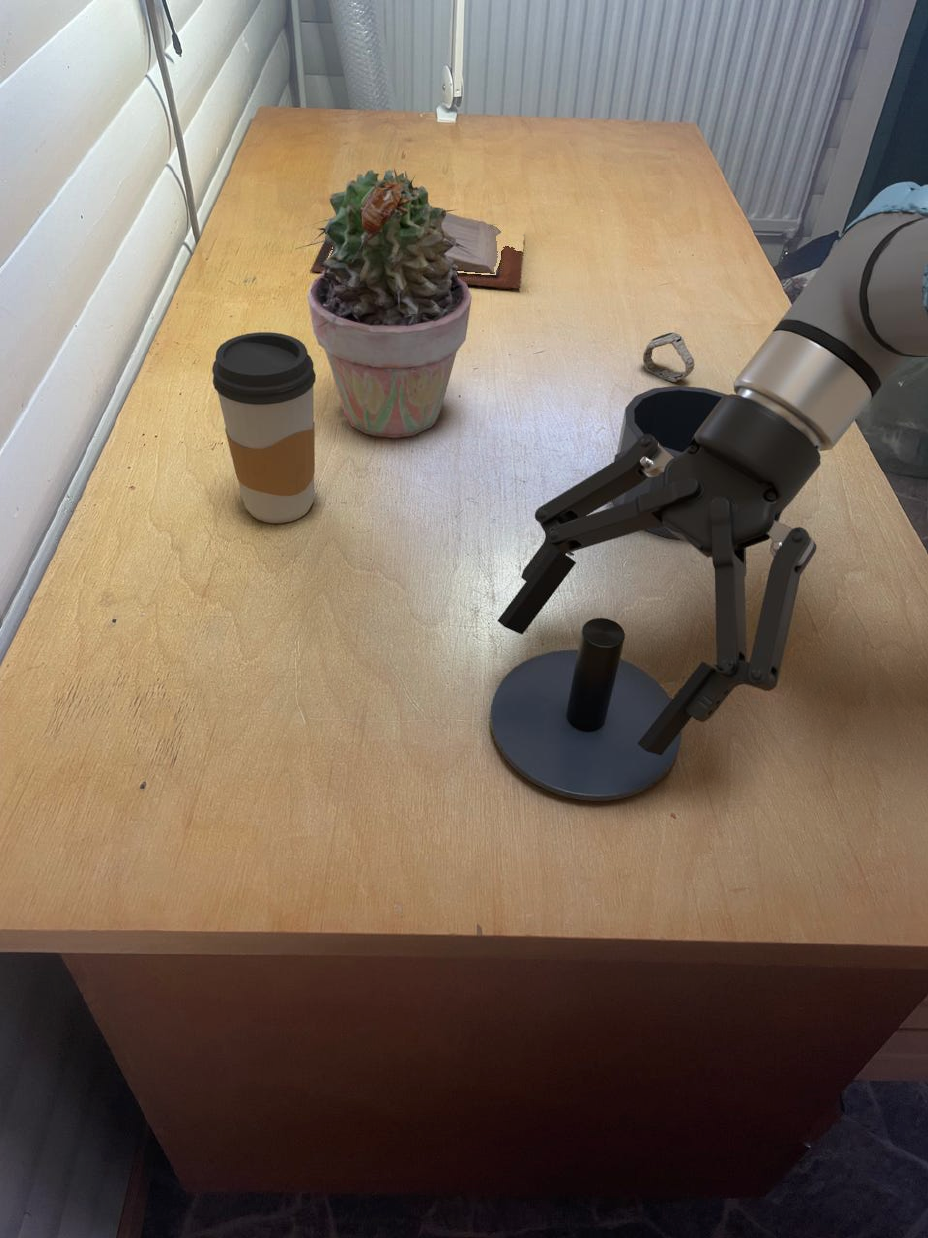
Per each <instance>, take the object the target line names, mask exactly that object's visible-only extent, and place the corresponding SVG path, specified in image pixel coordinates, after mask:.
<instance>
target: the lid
mask: <svg viewBox="0 0 928 1238" xmlns="http://www.w3.org/2000/svg"><path fill="white" fill-rule="evenodd" d="M623 628H624V627H622V626H621V625H620V624H619V623H618V622H616V621H615V620H612V619H610V618H606V617H605V618H604V617H595V618H592V619H589V620H588V621H586V622H585V623H584V624H583V626H582V628H581V632H580V638H579V644H578V649H562V650H555V651H549V652H545V653H541V654H539V655H535V656H533V657H530V658H528V659H526V660H525V661H523V662H521V663H519V664H517V665H516V666H514V668H512V669H511V670H510V671H509V672H508V673H507V674H506V675H505V676H504V677H503V678H502V680H501V681H500V682H499V684H498V686H497V688H496V690H495V692H494V695H493V698H492V701H491V706H490V727H491V732H492V735H493V738H494V739H493V740H494V742H495V743H496V746H497V749H498V750H499V751H500V753H501V754H502V755H503V757H504V759H505V760H506V761H507V762H508V764H510V766H511V767H512V768H513V769H514V770H515V771H516V772H517V773H519V774H520V775H521V776H522V777H524V778H525V779H526V780H528V781H530V782H531V783H533V784H534V785H536V786H538V787H540V788H542V789H544V790H545V791H549V792H551V793H553V794H556V795H558V796H563V797H565V798H569V799H576V800H580V801H590V802H593V801H594V802H602V801H603V802H604V801H613V800H614V801H615V800H620V799H624V798H628V797H631V796H635V795H636V794H639V793H641V792H644V791H645V790H648V789H649V788H652V787H653V786H654V785H655V784H656V783H658V782H659V781H660V780H661V779H663V778H664V777H665V775H666V774H667V773H668V772H669V771H670V770H671V768H672V766H673V765H674V762H675V761H676V759H677V756H678V754H679V750H680V748H681V741H682V730H681V731H680V733H679V734H678V735H677V736H676V738H675V739H674V740H673V741H672V743H671V744H670V745H669V746H668V748H667V749H666V750H665V751H664V753H663V754H662V755H657V754H654V753H650V752H647V751H645V750H644V749H643V748H642V747H641V746H640V745H638V744H637V743H638V742H639V741H640V739H641V738H642V737H643V736H644V734H645V733H646V732H647V731H648V729H649V728H650V727H651V726H652V724H653V723H654V722H655V720H656V719H657V718H658V717H659V715H660V714H661V713H662V712H663V710H664V709H665V708H666V707H667V705H668V704H669V703H670V702H671V700H672V698H671V697H670V695H669V694H668V692H667V691H666V690H665V688H663V686H662V685H661V684H660V683H659V682H658V681H657V680H655V679H654V677H652V676H651V675H650V674H649V673H647V672H646V671H644V670H643V669H642V668H640V667H638V666H637V665H635V664H633V663H631V662H629V661H627V660H625V659H622V658H621V656H622V651H623V648H624V647H623V646H624V642H625V638H626V634H625V633H626V632H625V630H624V629H623Z"/></svg>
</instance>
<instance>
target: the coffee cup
mask: <svg viewBox="0 0 928 1238" xmlns="http://www.w3.org/2000/svg"><path fill="white" fill-rule="evenodd" d="M314 366H315V364H314V361H313V360H312V356H311V355H310V354H309V353H308V349H307V347H306V345H305V343H303V342H302V341H301V340H300V339H298V338H295V337H294V336H291V335H288V334H284V333H280V332H279V333H278V332H270V331H267V332H264V331H263V332H260V331H259V332H251V333H244V334H241V335H237V336H235V337H232V338H230V339H228V340H226V341H225V342H223V343H221V344H220V346H219V347H218V348H217V349H216V352H215V360H214V362H213V364H212V368H211V372H212V375H213V376H212V384H213V386H214V389H215V391H216V392H217V397H218V401H219V405H220V409H221V413H222V418H223V421H224V426H225V428H224V429H225V430H224V431H225V434H226V440H227V443H228V448H229V452H230V456H231V460H232V464H233V465H232V466H233V468H234V473H235V476H236V479H237V482H238V485H239V489H240V494H241V499H242V502H243V505H244V508H245V509H246V511H248V513H249V514H250V515H251V516H252V517H254V519H256V520H258V521H261V522H264V523H267V524H268V523H269V524H285V523H290V522H293V521H296V520H298V519H300V518H303V516H305V515H306V514H307V513H308V512H309V511H310V509H311V507H312V505H313V503H314V501H315V473H316V472H315V470H316V469H315V468H316V467H315V466H316V464H315V463H316V460H315V459H316V457H315V456H316V453H315V451H316V448H315V446H316V445H315V444H316V443H315V440H316V439H315V437H316V436H315V432H316V431H315V430H316V429H315V426H316V425H315V424H316V423H315V419H314V418H315V417H314V414H315V413H314V408H315V407H314V406H315V405H314V385H315V383H316V375H317V374H316V372H315V369H314Z"/></svg>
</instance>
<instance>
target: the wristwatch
mask: <svg viewBox="0 0 928 1238" xmlns="http://www.w3.org/2000/svg"><path fill="white" fill-rule="evenodd" d="M666 345H672V347H673V348H674V350H675V351H676V352H677V354H678V355H679V356H680V358H681V360H682V362H683V363H684V371H681V372H678V371H677V372H676V371H674V370H670V369H669V368H668V367H665V368H662V367H659V366H658V365H657V364H655V361H654V360H653V358H652V357H653V351H654V350H655V349H656V348H659V347H664V346H666ZM642 362H643V367H644V368H645V370H646V371H647V372H648V373H650V374H652V375H655V376H656V377H658V378H660V379H662V380H664V381H667V382H670V383H677V382H679V381H680V380H683V379H685V378H687V377H688V376H689V375H690V374H691V373H692V372H693V371H694V369H695V359H694V357H693V354H692V353H690V351H689V348H688V347H687V345H686V342H685V339H684V337H682V335H681V334H679V333H677V332H667V333H665V334H661V335H658V336H657V337H654V338H652V339H650V341H649V342H648V343H647V345H646V348H645V349H644V351H643V355H642Z"/></svg>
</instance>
